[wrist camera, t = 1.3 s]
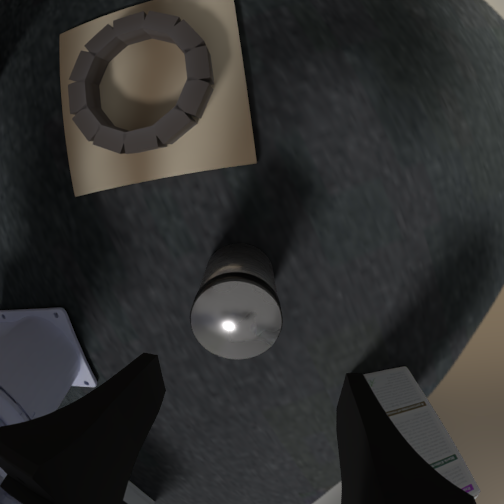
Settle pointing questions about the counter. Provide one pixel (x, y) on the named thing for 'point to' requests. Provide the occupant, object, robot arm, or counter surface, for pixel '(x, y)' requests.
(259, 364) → the counter surface
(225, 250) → the silver capped cylinder
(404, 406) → the syrup box
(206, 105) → the mount plate
